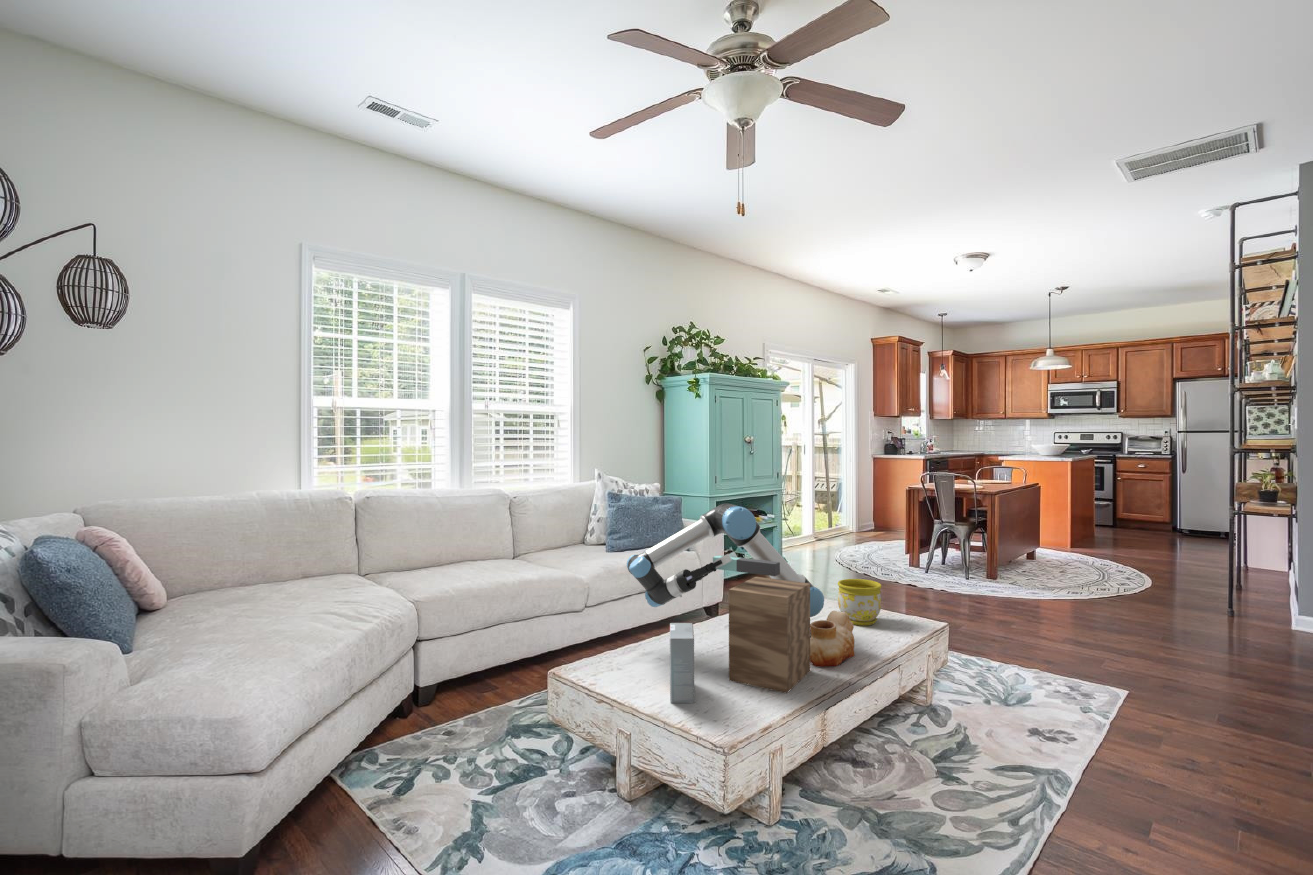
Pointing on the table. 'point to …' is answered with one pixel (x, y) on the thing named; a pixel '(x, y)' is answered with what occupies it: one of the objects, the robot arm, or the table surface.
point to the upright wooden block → (769, 633)
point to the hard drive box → (681, 663)
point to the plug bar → (751, 566)
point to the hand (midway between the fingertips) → (732, 556)
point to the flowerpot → (860, 600)
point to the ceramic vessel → (831, 640)
